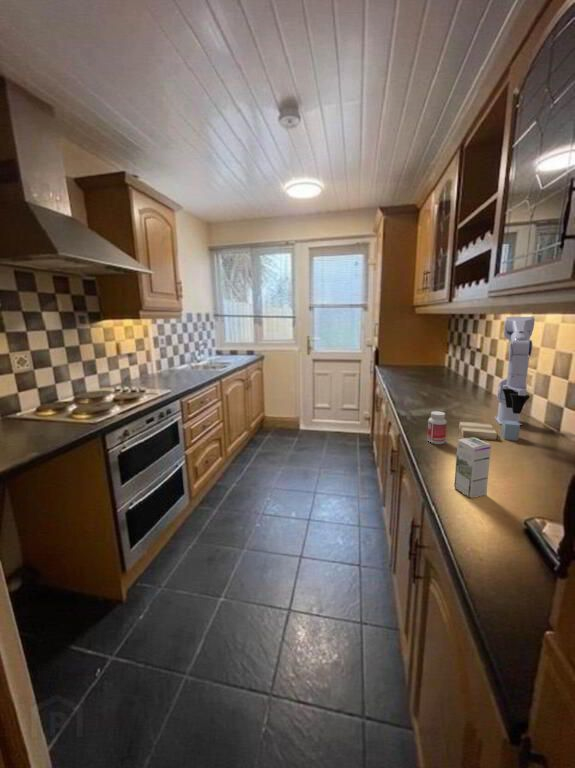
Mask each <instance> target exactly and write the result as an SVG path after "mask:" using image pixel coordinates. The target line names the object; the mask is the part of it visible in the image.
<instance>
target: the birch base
mask: <svg viewBox="0 0 575 768" xmlns="http://www.w3.org/2000/svg"><path fill="white" fill-rule="evenodd" d="M458 427H459V430H460V433H461V435H462V437H463V438H468V437H475V438H477V439H485V440H493V441H494V440H495V441H496V440H497V437H498V432H497V431H496V430H495V428H494V426H493V425H492V424H491V423H487V422H486V423H483V422H472V421H470V422H469V421H459V426H458Z"/></svg>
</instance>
